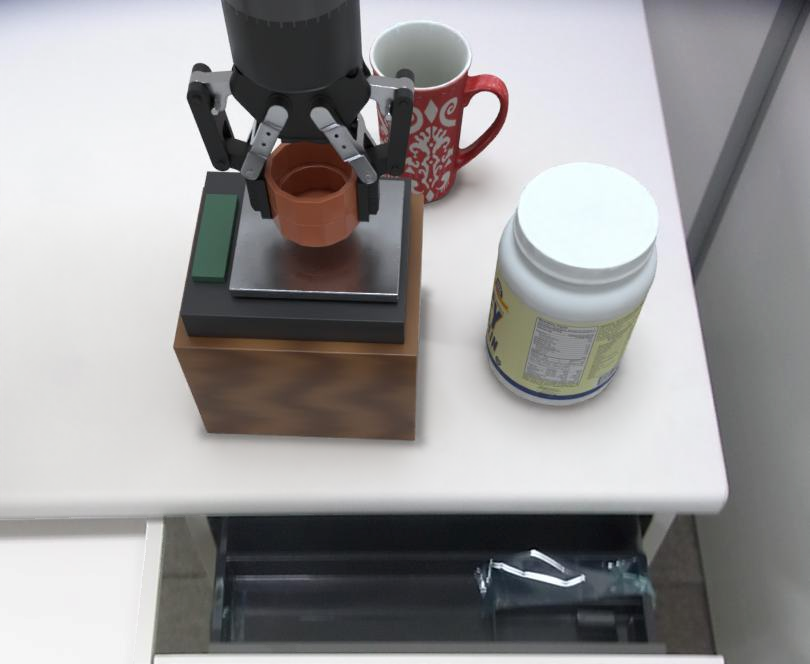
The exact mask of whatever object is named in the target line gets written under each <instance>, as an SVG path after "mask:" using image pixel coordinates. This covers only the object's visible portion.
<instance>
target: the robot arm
mask: <svg viewBox="0 0 810 664" xmlns="http://www.w3.org/2000/svg"><path fill="white" fill-rule="evenodd" d="M220 3H221V8H222V13H223V19H224V25H225V28H226V33H227V38H228V43H229V49H230V54H231V59H232V67H231V70H222V71H213V70H212V69H211V68H210V66H209V65H207V64H206V63H204V62H196V63H194V64H193V66H192V67H191V71H190V75H189V80H188V87H187V92H186V102H187V103H188V106H189V109H190V112H191V114H192V117H193V119H194V121H195V124H196V127H197V129H198V132H199V134H200V138H201V140H202V142H203V145H204V147H205V150H206V152H207V155H208V158H209V160H210V163H211V166H212V167H213V168H214V169H215V170H217V171H218V172H228V171H230V169H232V170H234V171H237V172H241V174H242V176H243V177H245V181H246V186H247V190H248V194H249V200H250V204H251V207H252V208H253V209H254V211H260V212H261V217H262V219H272V213H271V208H270V203H269V197H268V192H267V187H266V181H265V176H264V174H265V168H266V161H267V160H268V158H269V156H270V154H271V153H272V152H273V149H274V147H275V145H276V143H277V142H278V141H277V140H280V144H281V143H298V142H303V141H307V142H311V143H315V144H326V145H330V143H331V144H332V146H333V147H334V149H335V150H336V152H337V153H338V154H339V156H340V157H341V159H342V160H343V161H344V162H347V161H348V162H349V164H350V165H351V167H352V168H353V170H354V171H355V173H356V174H357V176H358V177H357V194H358V210H359V222H369V219H370V215H376V214H377V212H378V210H379V200H380V182H379V178H380V177H383V175H384V174H389V175H391V176H394V177H397V176H400V175H402V174H403V173H404V169H405V162H406V155H407V148H408V141H409V134H410V127H411V120H412V113H413V105H414V86H415V75H414V73H413V72H412V71H411V70H409V69H401V70H399V71H398V72H397V73H396V75H395V78H391V77H383V76H376V75H373V74H372V73H371V71H370V69H369V67H368V65H367V64H366V61H365V60H364V57H363V44H362V21H361V1H360V0H220ZM229 96H232V97H233V98H234V99H235V100H236V102H237V103H238V104H239V105H241V107H242V108H243V109H244V110H245V111H246V112H247V113H248V114H249V115H250V116H251V117H252V118H253V119H254V120H253V122H252V126H251V128H250V131H249V132H248V135H247V137H246V140H245V141H244V140H241V139H239V138H235V135H234V132H233V128H232V126H231V123H230V120H229V117H228V115H227V114H228V113H227V111H226V108H227V104H228V100H229ZM370 100H373V101H375V103H376V102H377V103H378V105H379V110H380V113H381V114H382V115H383V116H385V119H386V120H387V121H390V126H389V135H388V142H387V143H383V144H380V143H379V144H377V143H376V141H375V140H374V138H373V137H372V135H371V134H370V132H369V131H368V129H367V126H366V122H365V119H364V116H363V115H362V113H361V111H362V110H363V109H364V108H365V106H366V105H367V104H368V103H369V101H370Z"/></svg>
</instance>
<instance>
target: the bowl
mask: <svg viewBox="0 0 810 664" xmlns="http://www.w3.org/2000/svg"><path fill="white" fill-rule="evenodd" d="M264 176H265V181H266V187H267V192H268V197H269V203H270V208H271V213H272V219H273V221H274V223H275V225H276V226H277V228H278V230H279V231H280V233H281V235H282V236H283V237H285V238H287V239H289V240H291V241H293V242H295V243H297V244H299V245H302V246H309V247H325V246H329V245H332V244H335V243H337V242H339V241H341V240H343V239H346V238H347V237H348V236H349V235H350V234H351V233H352V231H353V230H354V229H355V228H356V227H357V226H358V224H359V223H360V222H359V210H358V194H357V177H358V176H357V174H356V173H355V171H354V170H353V168H352V167H351V165H350V164H349V162H348V161H347V162H344V161H343V160H342V159H341V157H340V156H339V154H338V153H337V152H336V150H335V149H334V147H333V146H332V144H331V143H330V145H326V144H315V143H311V142H307V141H303V142H298V143H281V142H280V144H278V145H277V146H276V147H275V149H274V150H272V152H271V154H270V156H269V158H268V160H267V161H266V168H265V174H264Z"/></svg>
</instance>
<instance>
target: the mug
mask: <svg viewBox="0 0 810 664" xmlns="http://www.w3.org/2000/svg"><path fill="white" fill-rule="evenodd" d="M368 58H369V64H370V66H371V69H372V75H376V76H383V77H391V78H395V75H396V73H397V72H398V71H399V70H401V69H409V70H411V71H412V72H413V73H414V75H415V86H414V105H413V113H412V120H411V127H410V134H409V141H408V148H407V155H406V162H405V169H404V173H403V174H402V175H400V176H397V177H399V178H411V179H412V187H411V194H424V203H428V202H429V203H430V202H433V201H437V200H439V199H441V198H443V197H444V196H446V195H447V194H448V193H449V192H450V191H451V190H452V188H453V186H454V184H455V182H456V176H457V172H458V171H459V170H460V169H462V168H463V167H464V166H466V165H468V164H469V163H470V162H471V161H472V160H474V159H475V158H476V157H477V156H479V155H480V154H481V153H482V152H484V151H485V149H486V148H487V147H489V145H490V144H491V143H492V142H493V141H494V140H495V139H496V138H497V136H498V135H499V133H500V132H501V130H502V129H503V127H504V125H505V122H506V120H507V117H508V112H509V106H510V105H509V103H510V102H509V101H510V100H509V99H510V95H509V90H508V88H507V85H506V83H505V82H504V81H503V80H502V79H501V78H500V77H498V76H497V75H493V74H489V73H482V74H477V75H472V76H471V75H469V70H470V68H471V66H472V62H473V50H472V46H471V44H470V42H469V41H468V39H467V37H466V36H464V35H463V33H462V32H460V31H459V30H458V29H456V28H455V27H453V26H451V25H449V24H446V23H443V22H439V21H435V20H428V19H414V20H407V21H402V22H399V23H395V24H393V25H391V26H389V27H387V28H386V29H384V30H383V31H382V32H380V33H379V34H378V35H377V36H376V37H375V38H374V40H373V42H372V43H371V45H370V48H369V55H368ZM483 92H484V93H485V92H487V93H491V94H493V95H495V96H496V98H497V99H498V101H499V110H498V113H497V116H496V117H495V119H494V120H493V122H492V123H491V125H490V126H489V127H488V128H487V129H486V130H485V131H484V132H483V133H482V134H481V135H480V136H479V137H478V138H477V139H476V140H474V141H473V142H472V143H470V144H469V145H468V146H466V147H464V148H461V147H460V141H461V133H462V125H463V117H464V109H465V108H467V107H468V106H469V105H470V102H471V101H472V99H473V97H475V96H476V95H478V94H479V93H483ZM375 106H376V114H377V115H376V116H377V124H378V136H379V145H380V144H383V143H387V142H388V135H389V126H390V121H387V120H386V119H385V116H383V115H382V114H381V113H380V110H379V105H378V103H377V102H376V101H375ZM382 177H394V176H391V175H389V174H384V175H382Z"/></svg>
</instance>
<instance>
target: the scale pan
mask: <svg viewBox="0 0 810 664" xmlns="http://www.w3.org/2000/svg"><path fill="white" fill-rule="evenodd" d="M379 182H380V200H379V210H378V212H377V214H376V215H370V219H369V222H360V223H359V224H358V226H357V227H356V228H355V229H354V230H353V231H352V233H351V234H350V235H349V236H348V237H347V238H346V239H343V240H341V241H339V242H337V243H335V244H332V245H329V246H325V247H309V246H302V245H299V244H297V243H295V242H293V241H291V240H289V239H287V238H285V237H283V236H282V235H281V233H280V231H279V230H278V228H277V226H276V225H275V223H274V221H273V219H262V217H261V212H260V211H254V209H253V208H252V207H251V204H250V200H249V194H248V190H247V186H245V192H244V198H243V204H242V211H241V217H240V223H239V229H238V236H237V242H236V248H235V254H234V261H233V267H232V273H231V279H230V286H229V291H230V295H231V296H237V297H266V298H295V299H324V300H353V301H382V302H398V296H399V278H400V260H401V242H402V223H403V205H404V181H397V180H379Z"/></svg>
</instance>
